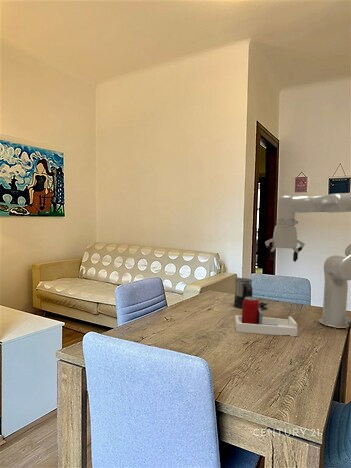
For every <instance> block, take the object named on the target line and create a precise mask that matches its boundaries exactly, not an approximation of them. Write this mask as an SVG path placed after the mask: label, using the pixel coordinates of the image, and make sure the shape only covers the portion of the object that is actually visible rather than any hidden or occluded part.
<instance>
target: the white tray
mask: <svg viewBox="0 0 351 468" xmlns="http://www.w3.org/2000/svg"><path fill="white" fill-rule="evenodd" d="M262 323H264V324H277V325H278V326H273V325H260V324H247V323H242V315H237V314H236V315H234V326H235V331H236V333H244V334H245V333H249V334H259V335H271V336H272V335H273V336H282V335H290V336H289V337H294V336H297V337H298V323H297V322H296V320H295V319H294V318H293V316H288V319H287V318H278V317H277V318H275V317H263V316H262Z"/></svg>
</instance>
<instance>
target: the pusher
mask: <svg viewBox="0 0 351 468" xmlns="http://www.w3.org/2000/svg"><path fill="white" fill-rule="evenodd" d="M262 317H263V312H262V310H261V307H259V313H258V324H260V325H273V326H278V325H277V324H264V323H262Z"/></svg>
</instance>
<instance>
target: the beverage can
mask: <svg viewBox="0 0 351 468" xmlns="http://www.w3.org/2000/svg"><path fill="white" fill-rule="evenodd" d="M259 304H260V302H259V300H258V298H257V297H254V296H252V297H245V299H244V300H243V306H242V308H241V309H242V310H241V311H242V312H241V316H242V323H247V324H258V313H259V308H260V306H259Z"/></svg>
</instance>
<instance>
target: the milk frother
mask: <svg viewBox="0 0 351 468" xmlns="http://www.w3.org/2000/svg"><path fill="white" fill-rule="evenodd" d="M252 282H253V279H251V278H246V277H236V278H234V301H233V307H234V308H237V309H242V306H243V300H244V299H245V297H253V285H252ZM265 306H268V303H265V302H259V308H264V307H265Z"/></svg>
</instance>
